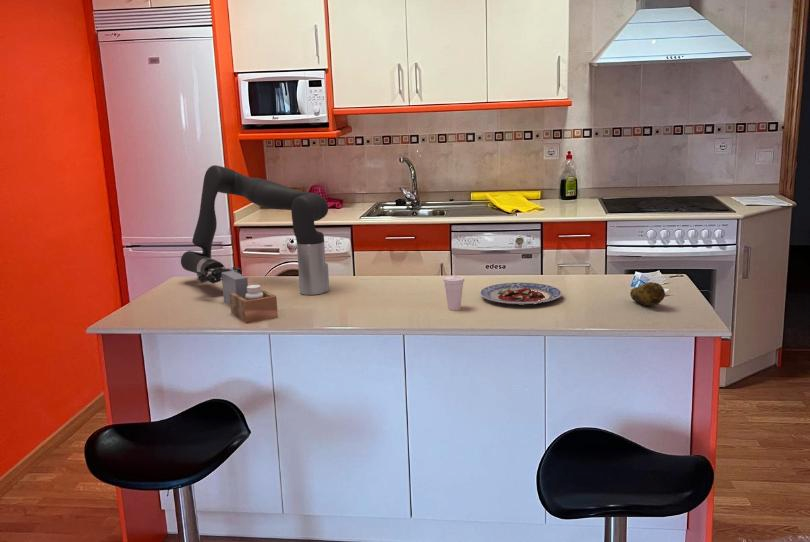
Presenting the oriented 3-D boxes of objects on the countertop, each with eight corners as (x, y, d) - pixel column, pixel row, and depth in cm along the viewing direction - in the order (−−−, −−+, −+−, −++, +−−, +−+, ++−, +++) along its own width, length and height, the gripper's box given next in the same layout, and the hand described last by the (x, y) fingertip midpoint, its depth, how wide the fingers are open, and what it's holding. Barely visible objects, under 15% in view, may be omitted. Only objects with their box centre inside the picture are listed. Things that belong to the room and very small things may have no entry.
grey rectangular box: (223, 302, 246) (221, 272, 243) (235, 300, 248) (233, 270, 245) (237, 310, 235) (235, 279, 233) (249, 308, 237) (247, 277, 235)
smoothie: (467, 306, 230) (466, 262, 227) (461, 312, 225) (461, 266, 221) (447, 305, 233) (446, 261, 229) (441, 311, 227) (440, 265, 224)
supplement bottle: (261, 313, 230) (258, 283, 228) (267, 317, 226) (265, 286, 224) (244, 316, 228) (241, 286, 225) (250, 320, 223) (248, 289, 221)
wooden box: (231, 313, 231) (229, 293, 230) (261, 307, 236) (259, 288, 235) (246, 323, 220) (244, 301, 219) (277, 317, 226) (276, 296, 224)
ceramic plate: (577, 303, 231) (578, 294, 230) (503, 313, 222) (503, 304, 222) (536, 285, 255) (536, 277, 254) (467, 294, 246) (466, 285, 246)
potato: (655, 300, 231) (656, 275, 229) (667, 312, 218) (668, 285, 216) (628, 300, 231) (629, 275, 230) (637, 312, 219) (639, 285, 217)
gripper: (189, 262, 254) (204, 270, 241) (229, 256, 262) (246, 264, 248) (191, 283, 256) (206, 292, 243) (231, 277, 263) (248, 286, 250)
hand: (226, 278), depth 246 cm, fingers open, 8 cm apart
